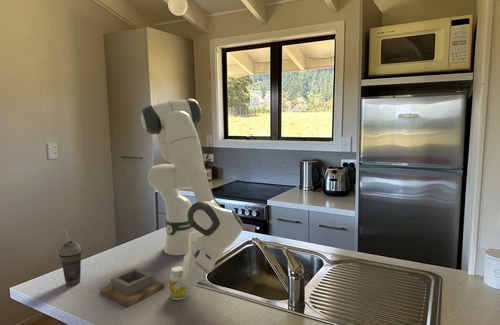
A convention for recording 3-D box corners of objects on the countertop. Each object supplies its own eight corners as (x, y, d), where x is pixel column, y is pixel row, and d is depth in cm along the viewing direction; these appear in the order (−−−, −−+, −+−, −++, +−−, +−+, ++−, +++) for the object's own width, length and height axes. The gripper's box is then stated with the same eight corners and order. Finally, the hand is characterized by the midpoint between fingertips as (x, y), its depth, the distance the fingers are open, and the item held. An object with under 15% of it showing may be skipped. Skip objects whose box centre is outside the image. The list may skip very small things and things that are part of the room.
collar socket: (138, 276, 127) (137, 263, 126) (164, 287, 118) (163, 274, 117) (100, 292, 115) (99, 279, 114) (126, 307, 106) (125, 292, 105)
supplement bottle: (188, 298, 111) (187, 270, 109) (172, 302, 109) (170, 273, 107) (184, 290, 116) (183, 264, 114) (169, 294, 113) (167, 267, 112)
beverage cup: (74, 289, 117) (70, 234, 115) (56, 287, 119) (51, 232, 116) (88, 279, 124) (84, 227, 122) (71, 277, 126) (67, 226, 123)
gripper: (198, 235, 121) (171, 263, 121) (198, 258, 101) (166, 292, 101) (210, 246, 122) (184, 274, 122) (213, 271, 102) (181, 304, 102)
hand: (176, 282), depth 111 cm, fingers closed on supplement bottle, 5 cm apart
